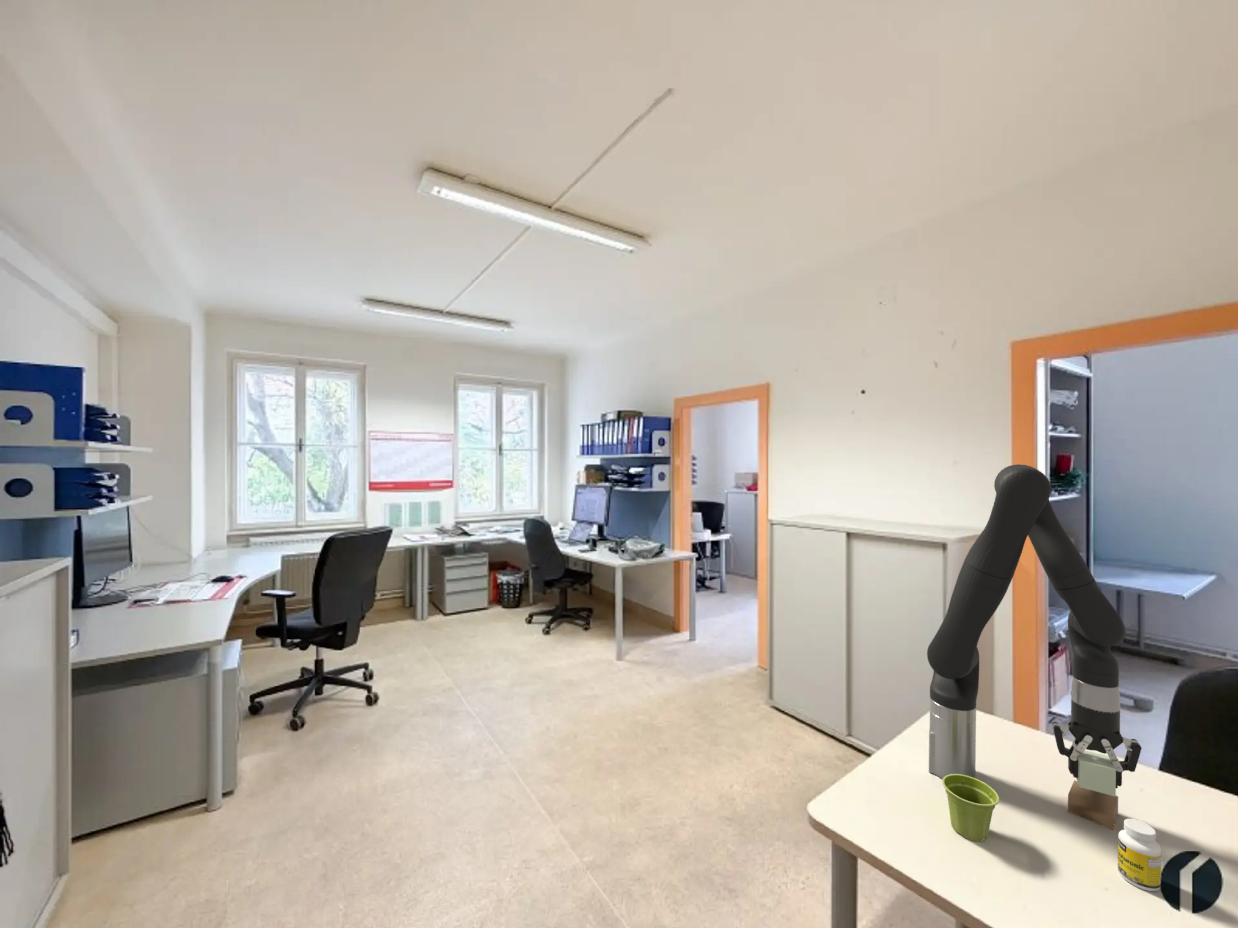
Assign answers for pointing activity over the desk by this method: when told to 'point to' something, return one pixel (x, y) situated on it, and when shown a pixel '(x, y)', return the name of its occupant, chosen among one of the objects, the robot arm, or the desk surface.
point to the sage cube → (1096, 773)
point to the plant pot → (970, 805)
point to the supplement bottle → (1139, 855)
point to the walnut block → (1093, 805)
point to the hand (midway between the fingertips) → (1094, 780)
